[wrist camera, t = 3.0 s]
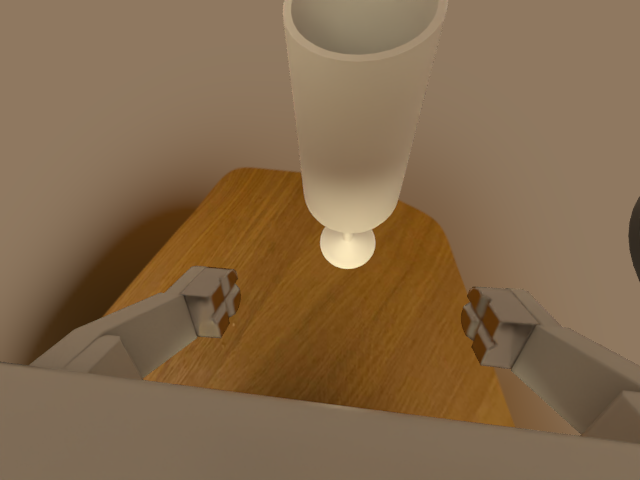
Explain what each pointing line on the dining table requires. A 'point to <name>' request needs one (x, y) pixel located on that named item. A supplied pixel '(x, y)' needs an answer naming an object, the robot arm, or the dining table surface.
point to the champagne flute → (357, 109)
